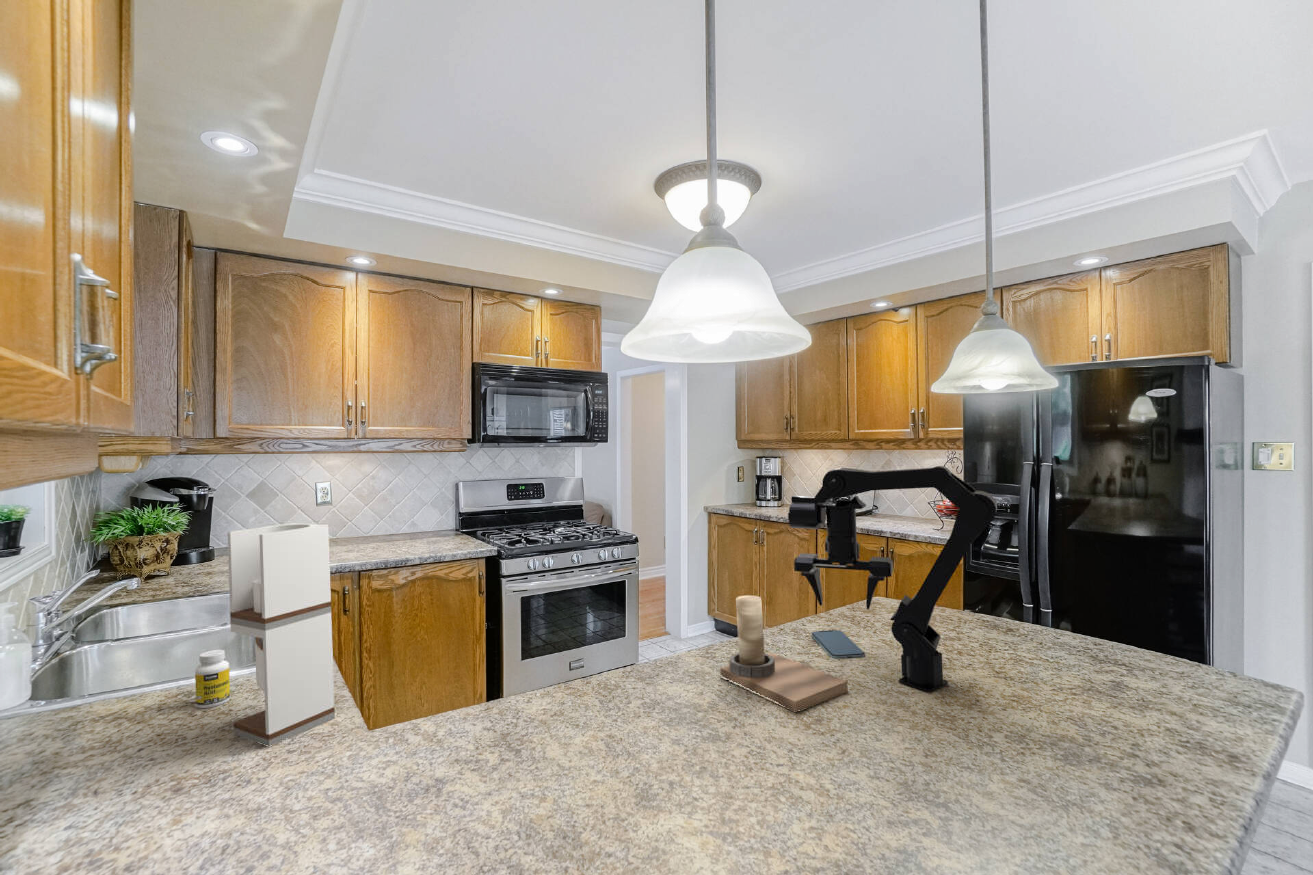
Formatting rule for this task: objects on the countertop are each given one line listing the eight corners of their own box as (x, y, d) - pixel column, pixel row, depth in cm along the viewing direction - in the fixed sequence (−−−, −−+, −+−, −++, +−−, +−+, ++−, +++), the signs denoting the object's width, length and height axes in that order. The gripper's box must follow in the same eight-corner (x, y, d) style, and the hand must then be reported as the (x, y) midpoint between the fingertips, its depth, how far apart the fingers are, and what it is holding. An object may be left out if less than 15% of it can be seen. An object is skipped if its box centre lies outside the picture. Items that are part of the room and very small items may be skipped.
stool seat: (847, 691, 113) (846, 670, 113) (795, 713, 105) (794, 689, 105) (770, 661, 129) (769, 642, 129) (720, 677, 122) (719, 658, 122)
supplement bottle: (201, 711, 114) (199, 659, 114) (191, 704, 118) (190, 654, 118) (234, 701, 119) (233, 651, 119) (224, 694, 122) (223, 646, 122)
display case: (299, 707, 115) (293, 522, 115) (334, 717, 110) (328, 524, 110) (234, 734, 105) (227, 531, 105) (269, 747, 100) (262, 534, 100)
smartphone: (832, 655, 130) (810, 631, 145) (832, 663, 130) (810, 638, 145) (866, 653, 130) (840, 629, 145) (867, 660, 130) (841, 636, 145)
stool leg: (768, 665, 121) (764, 596, 121) (760, 675, 117) (756, 603, 117) (744, 662, 124) (741, 594, 124) (736, 671, 119) (732, 601, 119)
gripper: (893, 525, 126) (896, 600, 126) (803, 523, 134) (806, 593, 134) (889, 534, 116) (892, 615, 116) (792, 530, 124) (794, 606, 124)
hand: (844, 606), depth 123 cm, fingers open, 9 cm apart
